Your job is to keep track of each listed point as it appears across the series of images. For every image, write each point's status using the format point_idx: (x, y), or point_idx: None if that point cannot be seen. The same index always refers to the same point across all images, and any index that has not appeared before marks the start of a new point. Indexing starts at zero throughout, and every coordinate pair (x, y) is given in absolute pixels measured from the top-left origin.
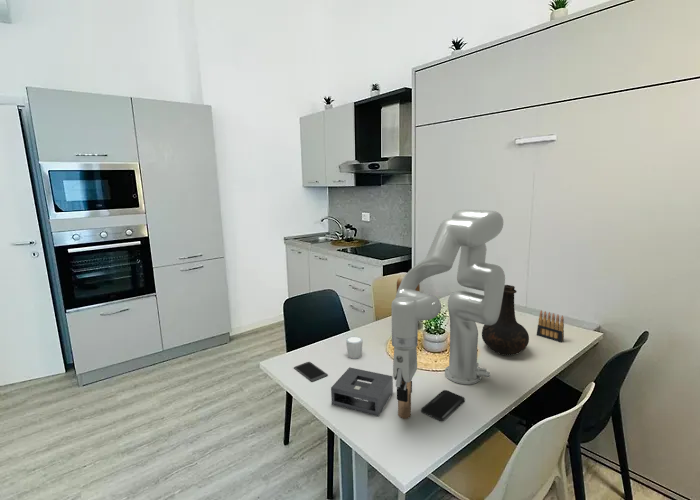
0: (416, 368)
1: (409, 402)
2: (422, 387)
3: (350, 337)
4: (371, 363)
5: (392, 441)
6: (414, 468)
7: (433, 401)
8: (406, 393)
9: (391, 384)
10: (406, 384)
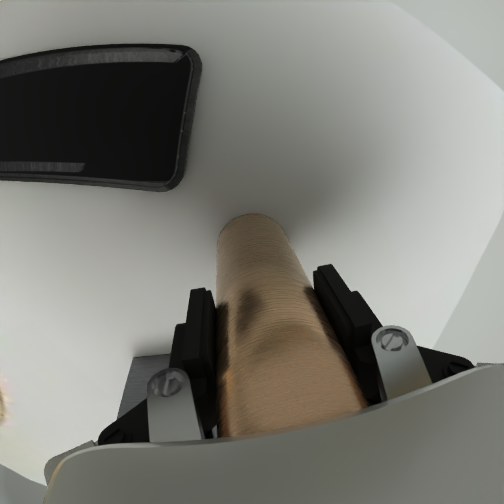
0: (108, 474)
1: (277, 253)
2: (15, 271)
3: None
4: (67, 443)
5: (434, 210)
6: (495, 100)
7: (68, 169)
8: (355, 306)
9: (141, 394)
10: (394, 370)
